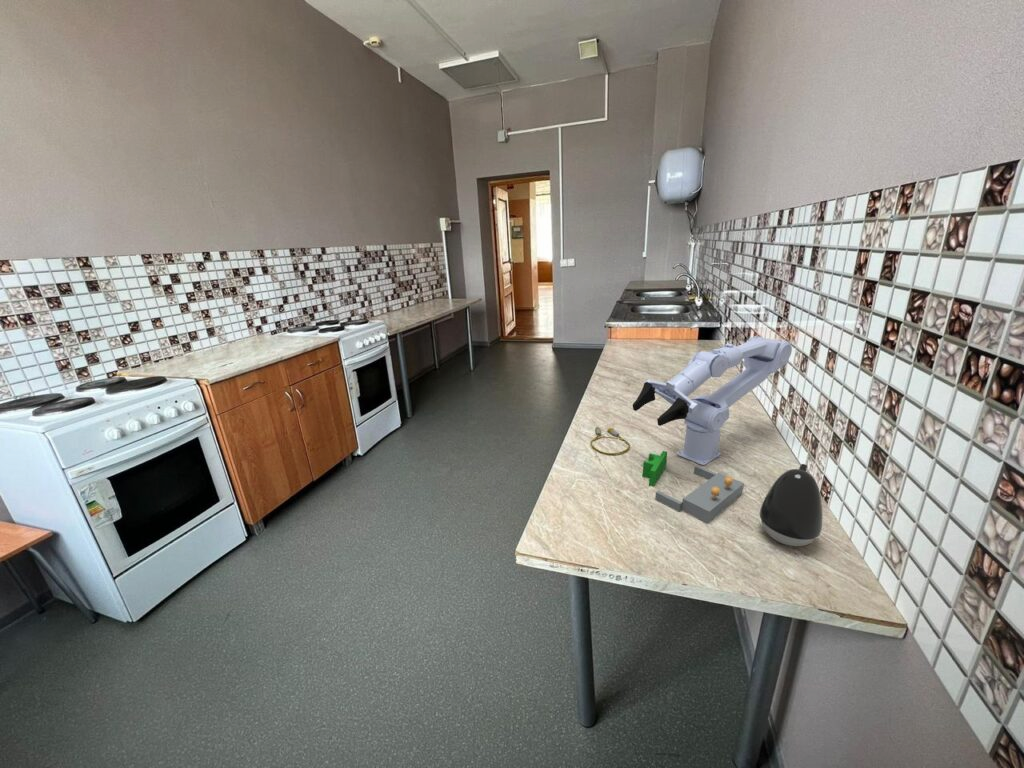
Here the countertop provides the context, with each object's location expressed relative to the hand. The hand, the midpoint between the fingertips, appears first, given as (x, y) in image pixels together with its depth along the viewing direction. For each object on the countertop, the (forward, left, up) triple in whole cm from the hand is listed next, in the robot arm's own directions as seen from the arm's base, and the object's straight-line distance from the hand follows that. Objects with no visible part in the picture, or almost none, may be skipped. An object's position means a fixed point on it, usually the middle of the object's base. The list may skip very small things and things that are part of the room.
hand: (645, 415), depth 98 cm
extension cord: (-9, -17, -18) cm, 27 cm away
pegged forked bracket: (-4, +14, -17) cm, 23 cm away
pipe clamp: (-4, +1, -18) cm, 18 cm away
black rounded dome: (-4, +32, -18) cm, 36 cm away
